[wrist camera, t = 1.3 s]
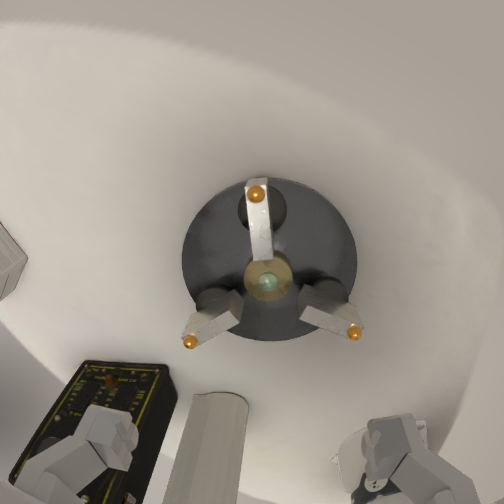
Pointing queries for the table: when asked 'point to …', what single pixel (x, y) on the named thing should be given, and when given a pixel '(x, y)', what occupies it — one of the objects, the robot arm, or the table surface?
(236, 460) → the paper towel roll
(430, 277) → the table surface
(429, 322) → the table surface
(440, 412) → the table surface
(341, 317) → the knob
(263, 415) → the table surface
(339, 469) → the robot arm
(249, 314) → the plate
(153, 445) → the voltmeter
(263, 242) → the grey lever knob
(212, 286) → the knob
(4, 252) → the supplement box
